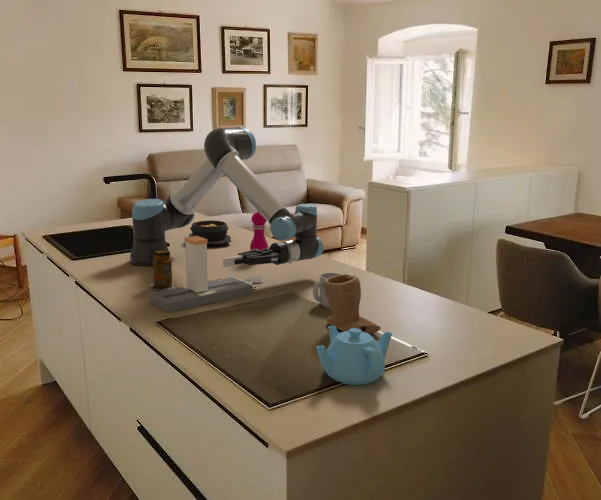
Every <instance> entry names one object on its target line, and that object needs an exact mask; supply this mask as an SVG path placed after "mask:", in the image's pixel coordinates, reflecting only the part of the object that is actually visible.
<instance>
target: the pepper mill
mask: <svg viewBox="0 0 601 500" xmlns="http://www.w3.org/2000/svg"><path fill="white" fill-rule="evenodd" d="M251 222H252V229H253V238H252V239H251V242H250V246H249V251H250V250H253V249H255V248H257V249H258V250H262V249H265V248H268V249H269V243H268V241H267V239H266V235H265V229H266V223H267V222H268V221H267V220H266V219H265V218H264V217H263V216H262V215H261V214H260V213H259V211H258V210H257V209H256V212H254V213H253V214H252V215H251Z"/></svg>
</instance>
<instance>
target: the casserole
mask: <svg viewBox="0 0 601 500" xmlns="http://www.w3.org/2000/svg"><path fill="white" fill-rule="evenodd" d="M229 229H230V228H229V226H228V224H227V223H226V222H224V221H220V220H200V221H195V222H193V223H192V224H191V227H190V228H189V230H190V231H191V233H189V234H188V237H192V236H199V237H202V238H205V239H208V243H207V246H208V245H210V246H211V245H222V244H227V243H228V244H229V243H231V242H232V240H231V238H232V237H231V236H230V235H229V234H228V230H229Z"/></svg>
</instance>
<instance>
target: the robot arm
mask: <svg viewBox="0 0 601 500" xmlns="http://www.w3.org/2000/svg"><path fill="white" fill-rule="evenodd" d="M203 149H204V150H203V151H204V154H205V156H206V158H205V160H204V161H203V162H202V164H201V165H200V166H199V167H198V168H197V169H196V171H195V172H194V173H193V174H192V175H191V176H190V177H189V179H187V181H186V182H184V184H183V186H181V188H180V189H179V190H174V191H172V192H171V193H170V194H169V196H167V198H166V199H165V200H162V199H160V198H148V199H142V200H139V201H136V202H134V203H133V205H132V209H131V210H132V212H131V219H132V232H133V233H132V234H133V245H132V248H131V252H130V256H129V262H130V264H132V265H134V266H138V267H139V266H141V267H153V259H154V252H155V251H157V250H168V251H169V247H168V245H167V243H166V236H165V233H166V232H168V231H171V230H175V229H180V228H181V229H182V228H183V227H186V226H188V225H190V224H191V223H192V222H193V220H194V218H195V213H196V210H197V207H196V205H198V203H200V201H201V200H203V198H204V197H205V196H206V195H207V194H208V192H210V190H211V189H212V188H213V187H214V186H215V185H216V184H217V182H219V180H220V179H221V178H222V177H223V176H224V175H225V176H226V177H227V178H228V180H229V181H230V182H231V183H232V184H233V185H234V186H235V187H236V189H238V191H239V192H240V193H241V194H242V195H243V196H244V197H245V198H246V199H247V200H248V202H249V203H250V204H251V205H252V206H253V207H254V208H255V209H256V211H257V210H258V211H259V213H260V214H261V215H262V216H263V217H264V218H265V219H266V220H267V221H266V222H267V223H268V224H269V225H270V227H269V230H270V233H271V235H272V237H273V238H274V239H276V240H278V241H277V242H272V244H271V245H270V246H268V248H265V249H262V250H258V249H257V248H255V249H253V250H250V249H249V250H246V251H243V252H238V253H237V255H234V256H226V257H223V258H222V266H223V267H224V268H229V267H234V266H242V265H248V266H257V265H265V264H267V265H268V264H274V265H276V266H277V265H284V264H292V263H293V262H299V261H305V260H313V259H315V258H318V257H321V255H323V252H324V244H323V240H322V239H321V238H320V237H318V236H317V234H318V233H317V231H318V230H317V228H318V207H317V206H316V205H315V204H312V203H300V204H296V206H295V211H294V212H293V213H292V212H290V211H289V210H288V209H287V208H286V207H285V206H284V205H283V203H281V201H279V199H278V198H277V197H276V196H275V195H274V194H273V193H272V191H271V190H270V189H269V188H268V187H267V186H266V185H265V184H264V183H263V182H262V180H261V179H260V178H259V177H258V176H257V175H256V174H255V173H254V172H253V171H252V170H251V168H249V167H248V165H247V164H246V163H245V162H244V160H248V159H250V158H252V157H253V156H254V154H255V152H256V150H257V141H256V137H255V135H254V133H253V132H252V131H251V130H250V129H248V128H246V127H241V126H235V127H218V128H215V129H212V130H211V131H210V132H209V133H208V134H207V135H206V137H205V139H204V143H203ZM294 237H295V239H292V238H294ZM290 239H291V240H290Z"/></svg>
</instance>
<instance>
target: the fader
mask: <svg viewBox="0 0 601 500" xmlns="http://www.w3.org/2000/svg"><path fill="white" fill-rule="evenodd" d="M184 242H185V244H184V245H185V271H186V272H185V273H186V274H185V275H186V286H187V288H188V289H190V290H192V291H194V292H196V293H197V292H202V291H207V290H208V282H209V280H208V249H207V248H208V245H207V243H208V239H205V238H202V237H199V236H192V237H189V236H185V237H184Z"/></svg>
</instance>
